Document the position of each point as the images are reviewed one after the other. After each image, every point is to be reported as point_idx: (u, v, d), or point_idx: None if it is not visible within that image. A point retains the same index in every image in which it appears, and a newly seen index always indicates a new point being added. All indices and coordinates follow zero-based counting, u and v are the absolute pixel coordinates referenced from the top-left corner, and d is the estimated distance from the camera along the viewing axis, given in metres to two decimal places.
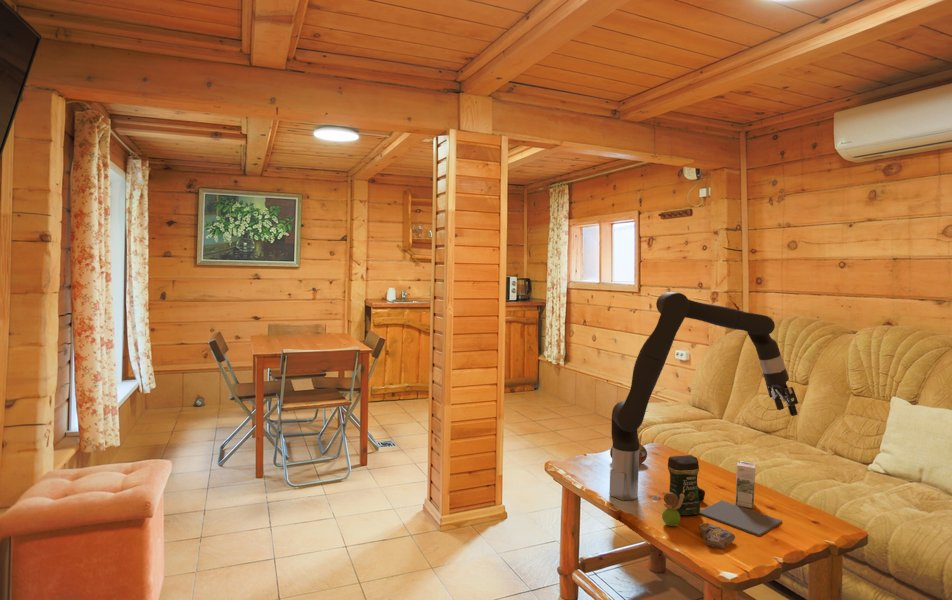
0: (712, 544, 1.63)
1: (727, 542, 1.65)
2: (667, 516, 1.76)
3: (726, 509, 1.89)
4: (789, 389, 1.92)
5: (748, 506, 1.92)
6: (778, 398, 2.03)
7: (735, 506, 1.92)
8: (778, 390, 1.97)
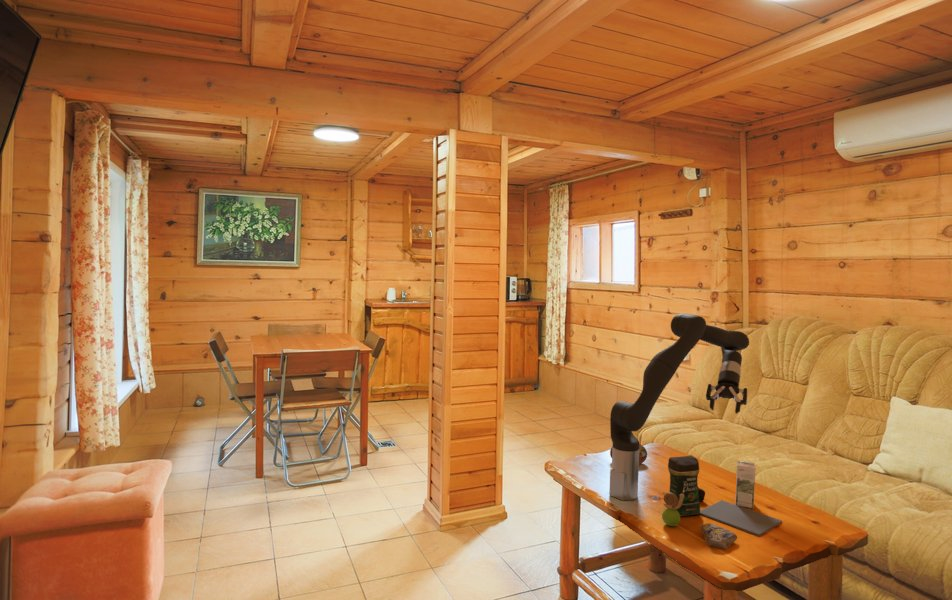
0: (713, 544, 1.63)
1: (729, 542, 1.65)
2: (667, 516, 1.76)
3: (726, 509, 1.89)
4: None
5: (748, 506, 1.92)
6: (714, 400, 2.14)
7: (735, 506, 1.92)
8: (732, 388, 2.13)
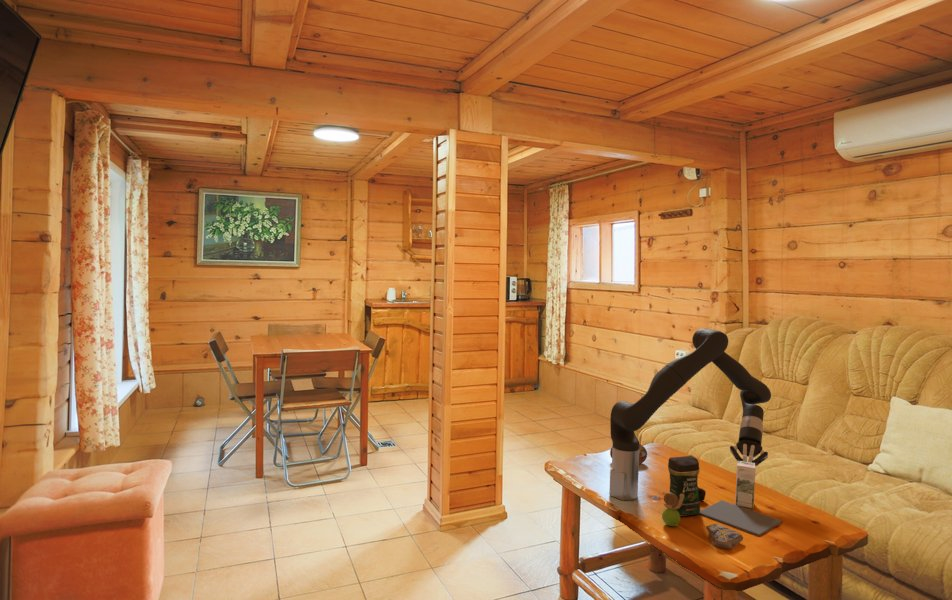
0: (719, 544, 1.63)
1: (735, 543, 1.65)
2: (667, 516, 1.76)
3: (726, 509, 1.89)
4: (767, 455, 1.99)
5: (748, 506, 1.92)
6: None
7: (735, 506, 1.92)
8: (754, 448, 2.01)
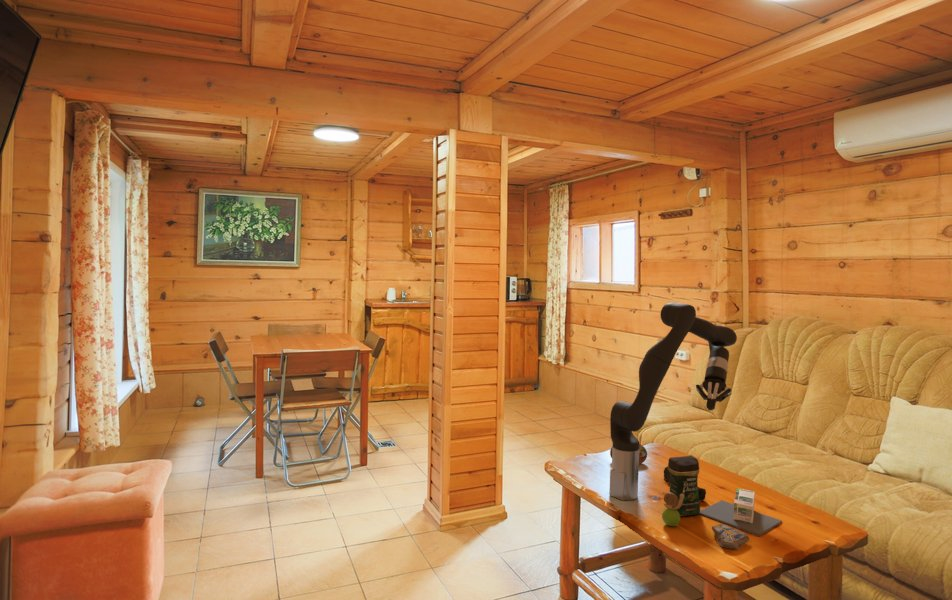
0: (725, 545, 1.63)
1: (741, 543, 1.64)
2: (667, 516, 1.76)
3: (726, 509, 1.89)
4: None
5: None
6: None
7: None
8: (718, 385, 2.11)
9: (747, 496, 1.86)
